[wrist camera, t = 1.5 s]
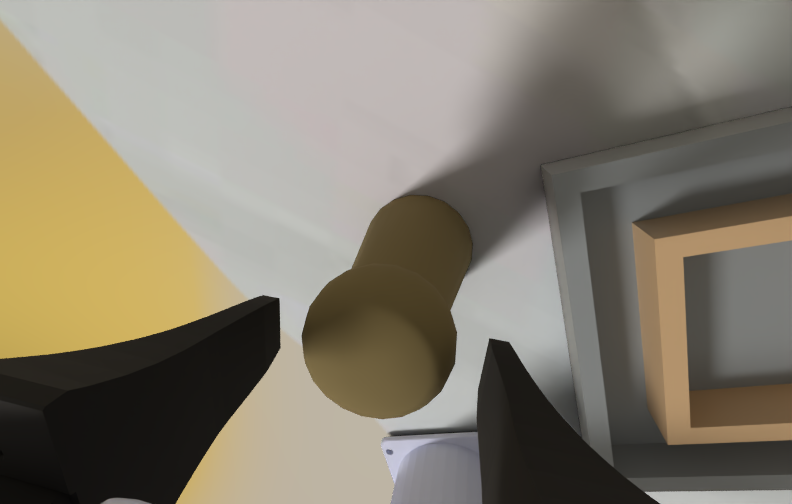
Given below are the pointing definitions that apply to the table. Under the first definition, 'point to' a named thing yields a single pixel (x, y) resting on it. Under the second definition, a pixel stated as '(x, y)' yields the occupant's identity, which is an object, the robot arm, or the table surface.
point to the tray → (682, 303)
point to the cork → (391, 312)
